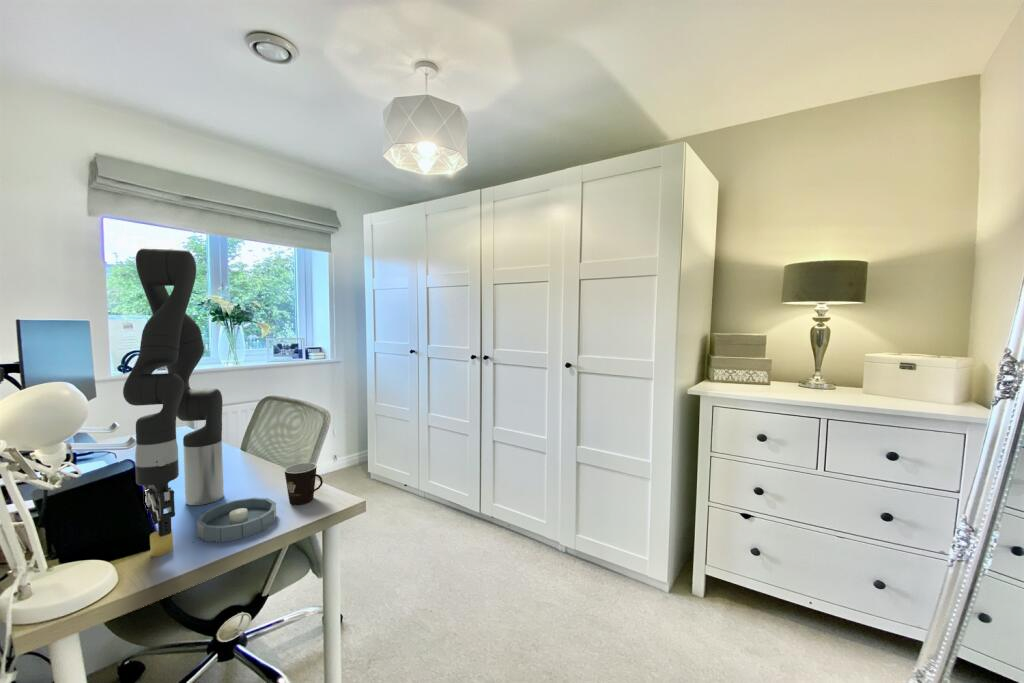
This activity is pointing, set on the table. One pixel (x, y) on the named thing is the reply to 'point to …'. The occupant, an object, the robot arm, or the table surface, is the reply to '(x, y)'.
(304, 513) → the table surface
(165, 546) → the bead
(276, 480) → the table surface
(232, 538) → the groove dish
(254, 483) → the table surface
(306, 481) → the coffee mug
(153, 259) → the robot arm
